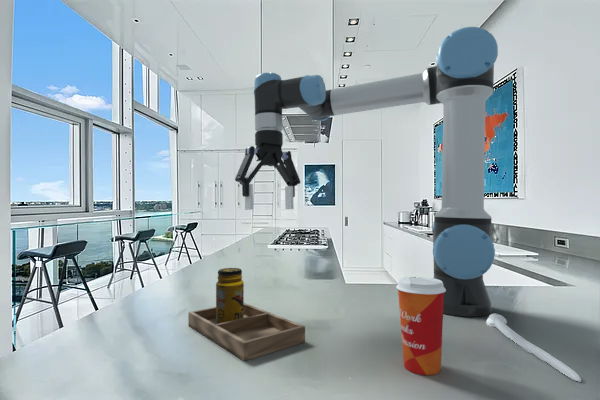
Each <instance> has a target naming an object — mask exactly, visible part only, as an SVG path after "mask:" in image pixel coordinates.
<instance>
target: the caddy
mask: <svg viewBox="0 0 600 400" xmlns="http://www.w3.org/2000/svg"><path fill="white" fill-rule="evenodd" d="M243 309H244V318H241V319H237V320H232V321H228V322H223V323H219V324H214V323H212V322H210V321H212V320H216V306H214V307H213V306H212V307H209V308H203V309H199V310H193V311H189V312H188V317H187V318H188V321H187V322H188V324H187V325H188V327H189V328H191V329H193V330H194V331H196V332H197V333H199V334H200V335H201V336H204V337H205V338H207V339H208V340H210V341H212V343H215V344H216V345H217V346H219V347H221V348H222V349H224V350H226V351H227V352H229V353H230V354H232V355H234V356H235V357H237V359H239V360H241V361H243V362H245V361H249V360H252V359H255V358H258V357H262V356H265V355H268V354H270V353H274V352H277V351H280V350H284V349H287V348H290V347H293V346H297V345H300V344H303V343H306V326H305V325H303V324H300V323H297V322H295V321H292V320H289V319H288V318H285V317H283V316H279V315H276V314H274V313H271V312H269V311H266V310H264V309H260V308H258V307H256V306H253V305H251V304H248V303H246V302H244V308H243Z"/></svg>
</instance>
